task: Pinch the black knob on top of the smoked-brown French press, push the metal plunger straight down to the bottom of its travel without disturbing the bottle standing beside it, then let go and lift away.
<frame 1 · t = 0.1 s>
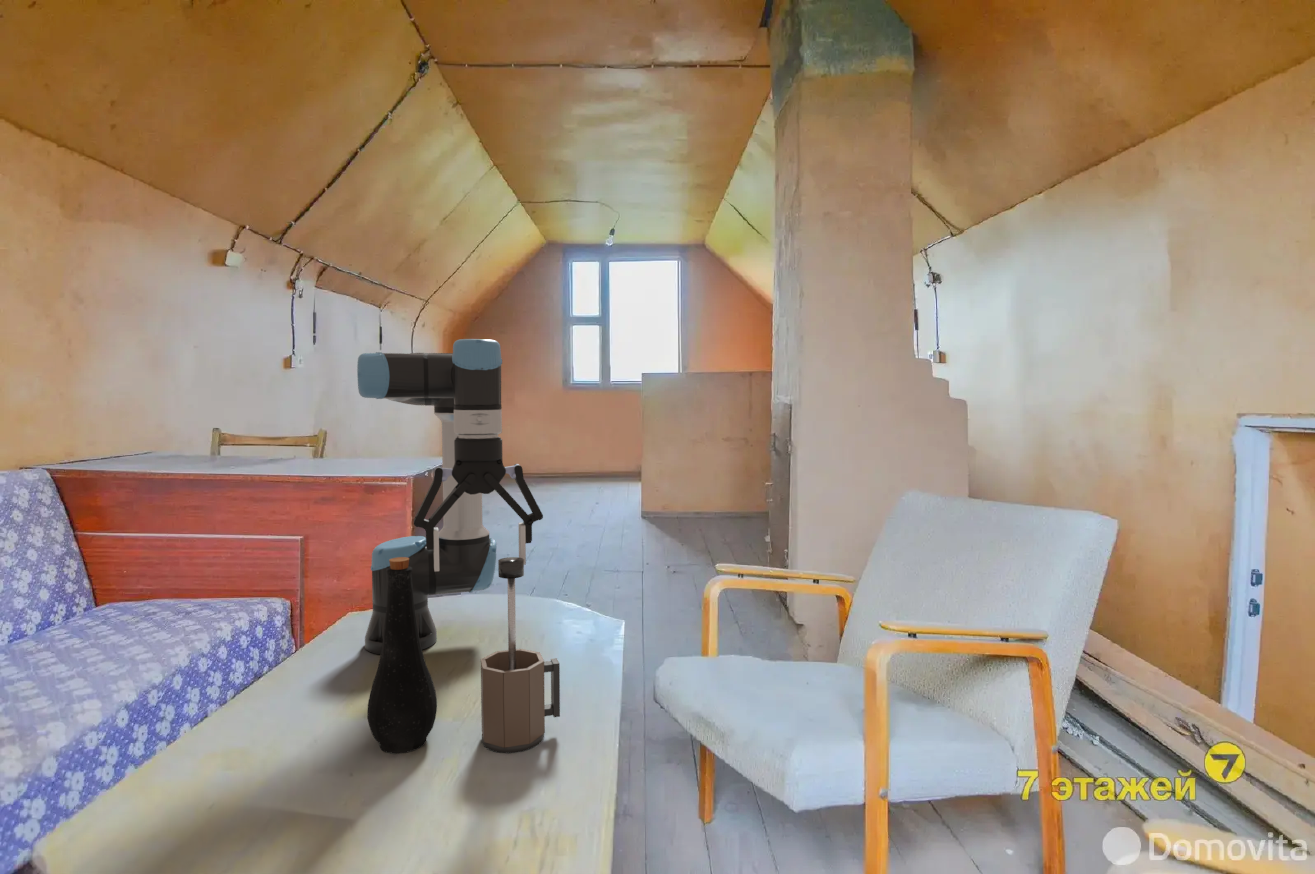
hand: (480, 566, 118), 28 cm above the table, fingers open, 13 cm apart
bottle: (403, 743, 117), on the table
plunger: (511, 623, 117), point 19 cm above the table, slide at 0.0 cm
press: (513, 737, 118), on the table
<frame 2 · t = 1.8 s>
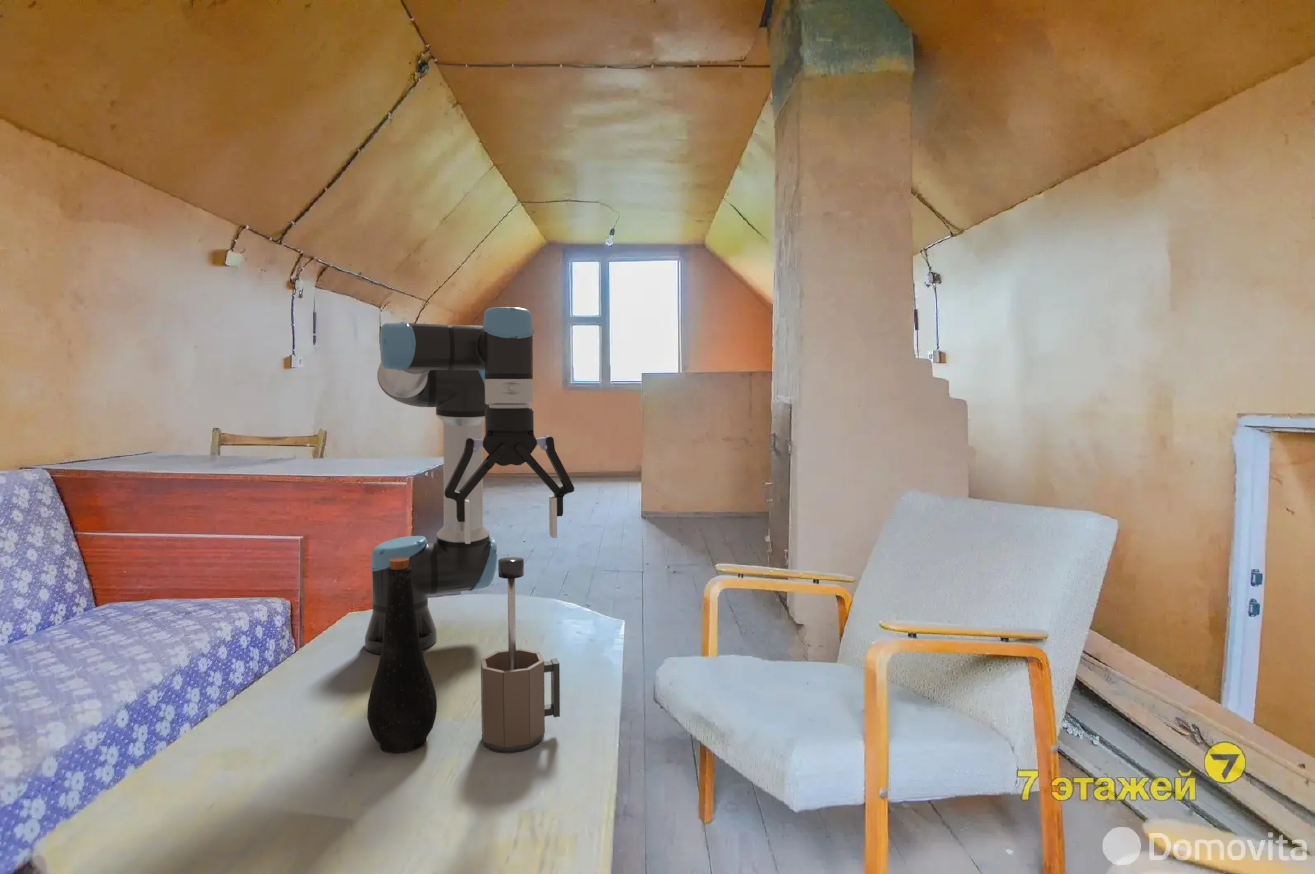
hand: (511, 539, 116), 33 cm above the table, fingers open, 13 cm apart
nothing on the table moved.
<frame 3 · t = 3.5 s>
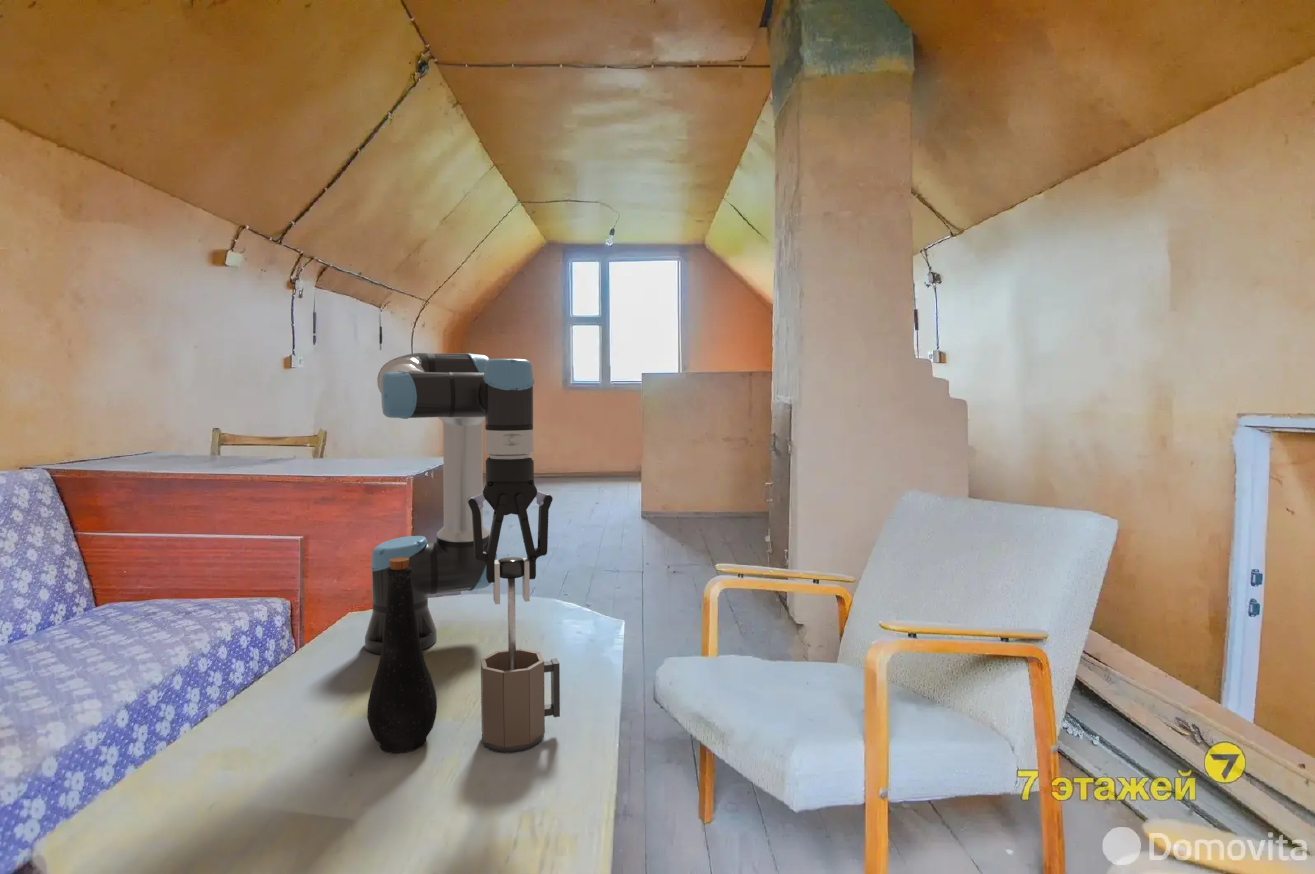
hand: (511, 600, 117), 23 cm above the table, fingers closed on plunger, 4 cm apart
plunger: (511, 623, 117), point 19 cm above the table, slide at 0.0 cm, touching gripper
everything else where it was.
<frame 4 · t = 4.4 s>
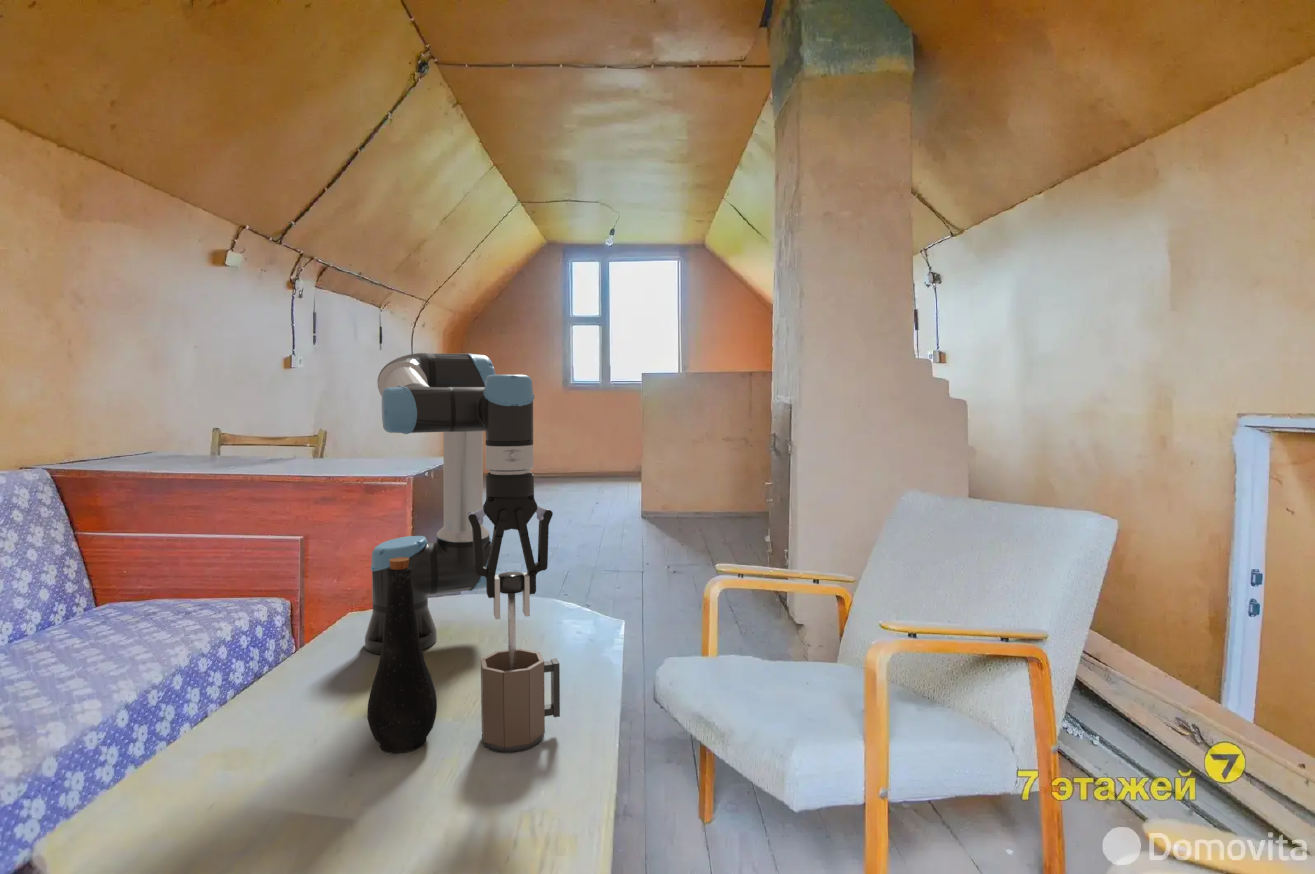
hand: (511, 614, 117), 20 cm above the table, fingers closed on plunger, 4 cm apart
plunger: (512, 638, 117), point 17 cm above the table, slide at 2.4 cm, touching gripper
everything else where it was.
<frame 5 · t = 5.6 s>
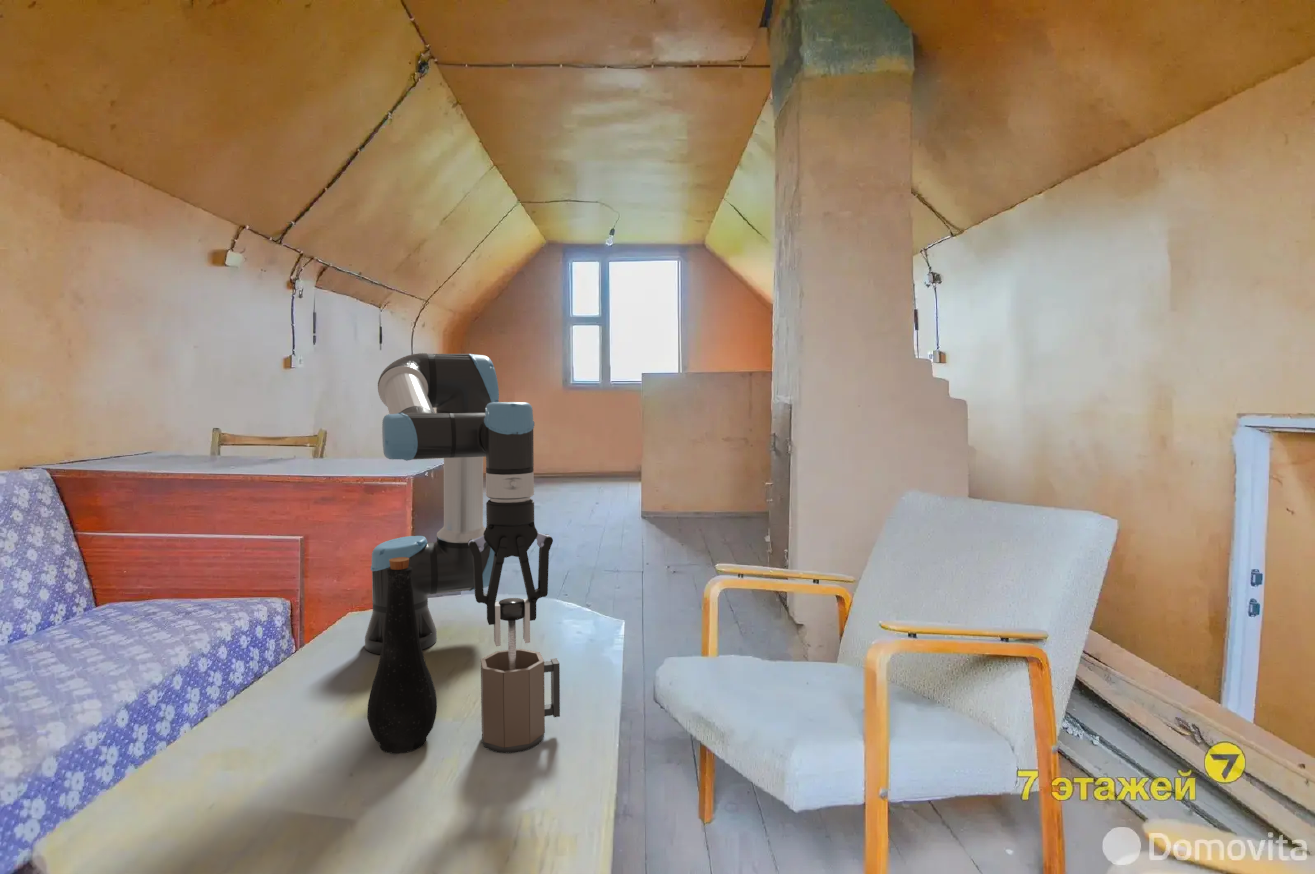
hand: (512, 641, 117), 16 cm above the table, fingers closed on plunger, 4 cm apart
plunger: (512, 664, 118), point 12 cm above the table, slide at 6.8 cm, touching gripper
everything else where it was.
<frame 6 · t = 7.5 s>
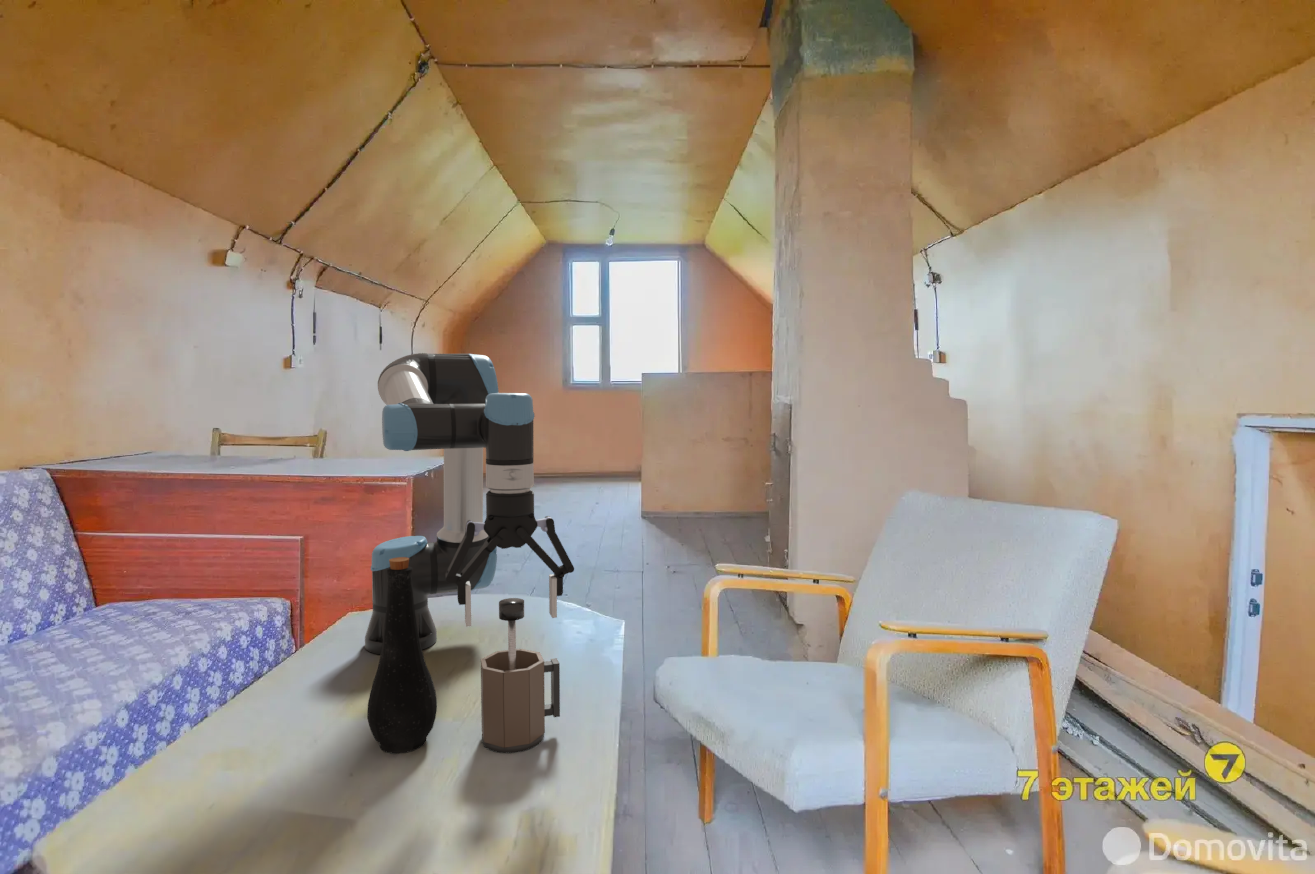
hand: (511, 619, 117), 20 cm above the table, fingers open, 13 cm apart
plunger: (512, 664, 118), point 12 cm above the table, slide at 6.8 cm
everything else where it was.
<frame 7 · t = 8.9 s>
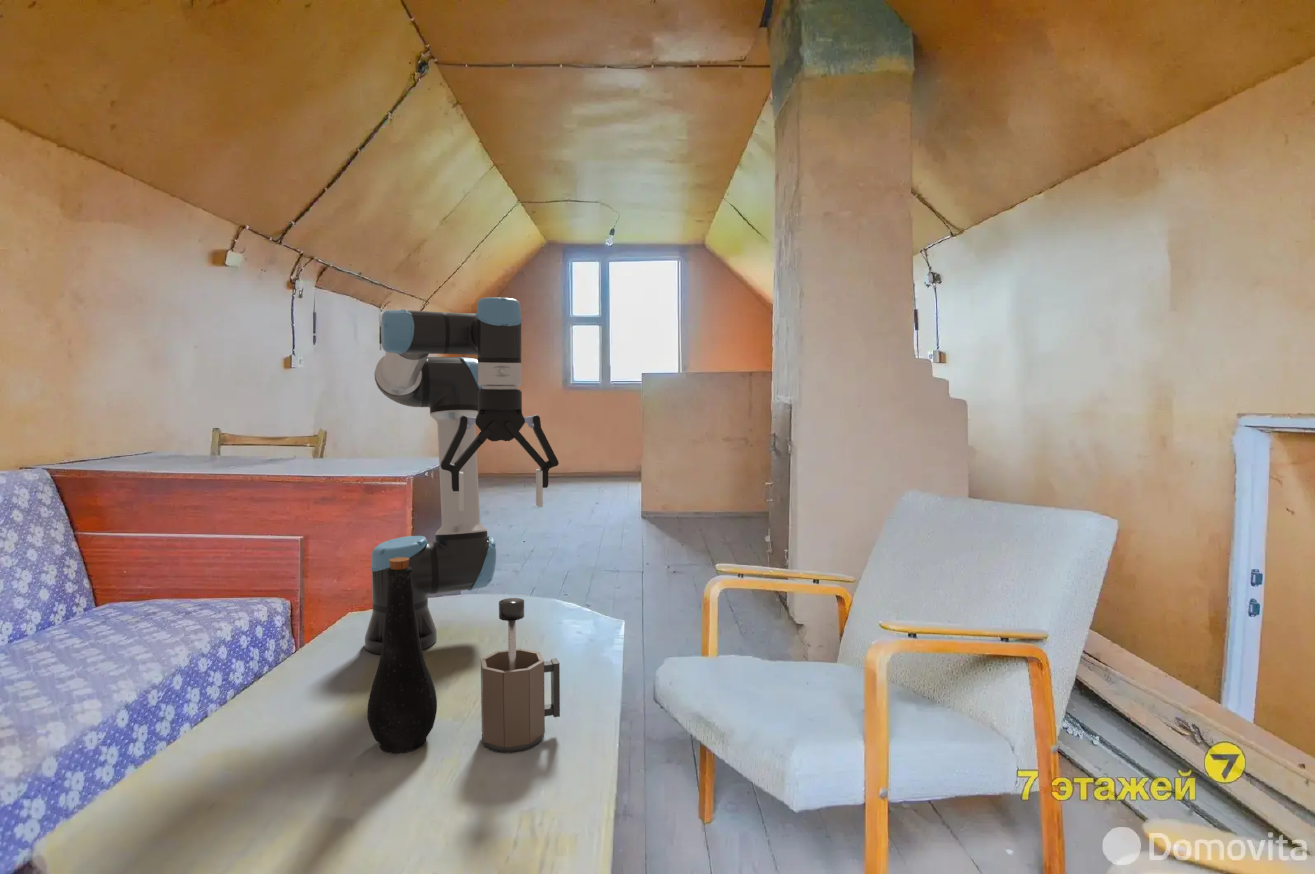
hand: (500, 508, 128), 36 cm above the table, fingers open, 13 cm apart
nothing on the table moved.
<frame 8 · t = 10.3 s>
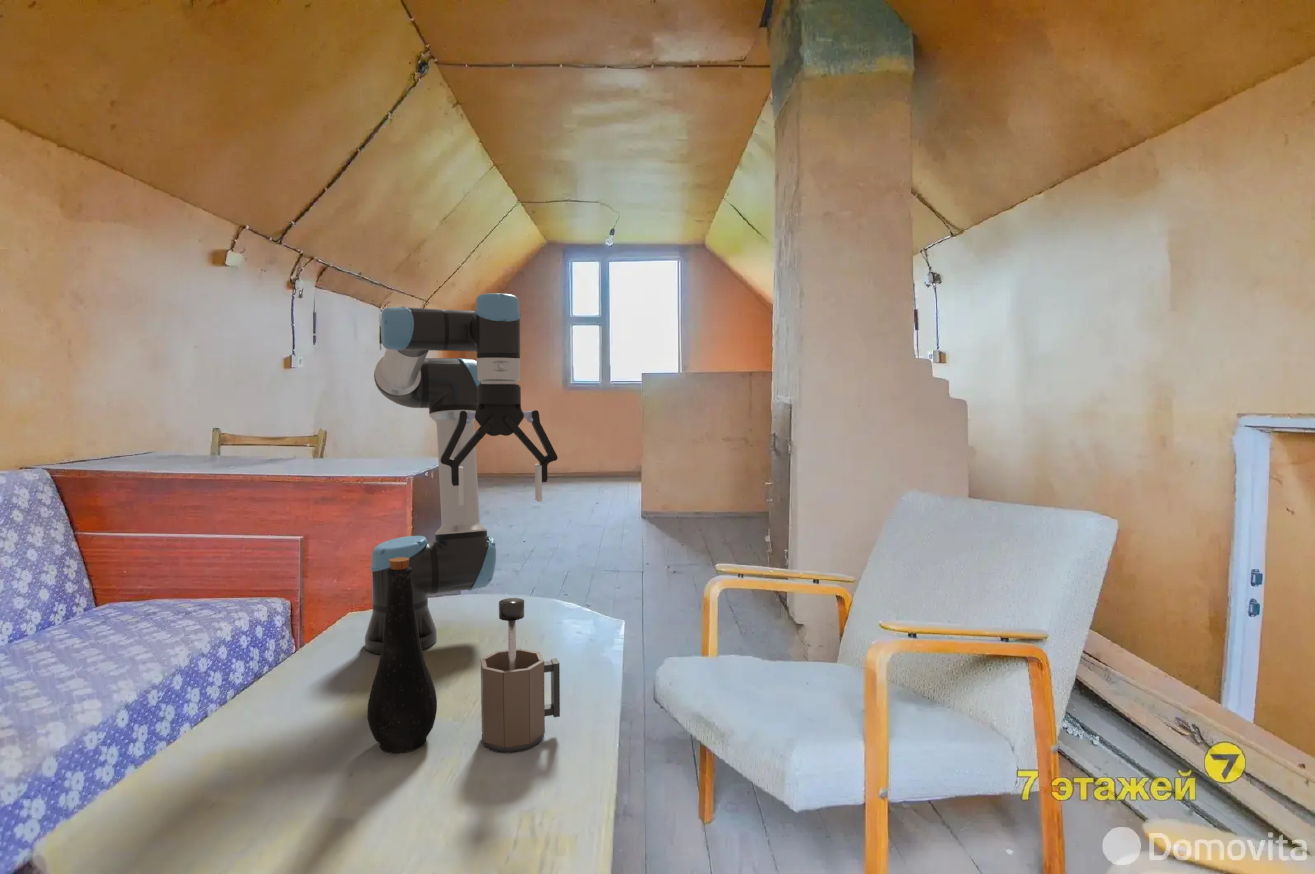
hand: (500, 502, 129), 37 cm above the table, fingers open, 13 cm apart
nothing on the table moved.
at the end: plunger slide at 6.8 cm; the gripper is holding nothing; bottle tilted 0° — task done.
